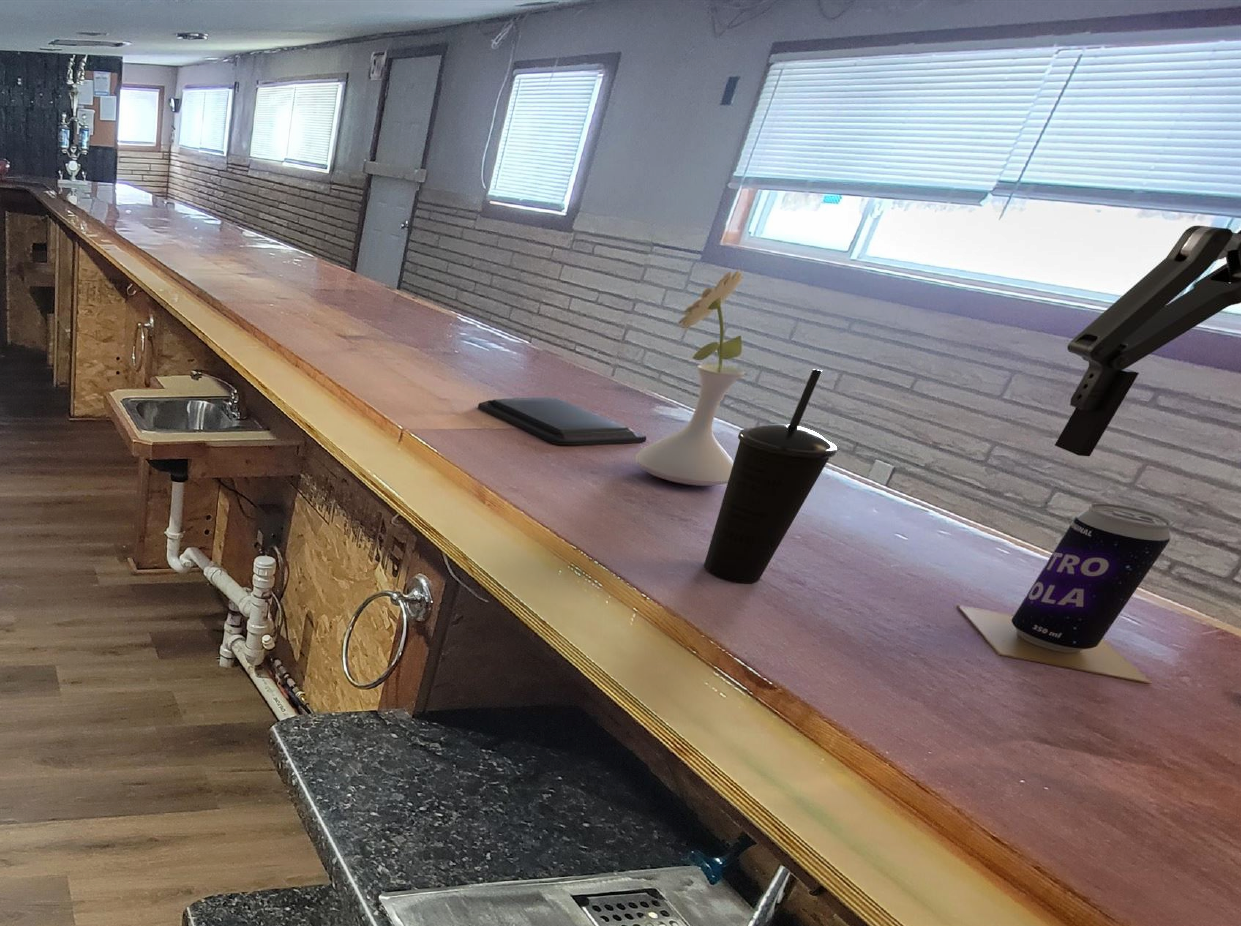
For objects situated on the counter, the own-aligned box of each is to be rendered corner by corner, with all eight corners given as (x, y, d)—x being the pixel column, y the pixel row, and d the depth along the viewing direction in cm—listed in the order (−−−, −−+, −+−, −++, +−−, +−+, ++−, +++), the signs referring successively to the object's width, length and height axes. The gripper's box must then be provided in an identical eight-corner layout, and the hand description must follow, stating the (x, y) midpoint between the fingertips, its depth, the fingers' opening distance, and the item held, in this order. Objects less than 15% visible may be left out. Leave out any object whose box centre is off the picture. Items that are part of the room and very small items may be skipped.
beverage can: (1008, 618, 82) (1084, 496, 76) (1092, 642, 78) (1179, 516, 72) (1003, 638, 78) (1082, 511, 72) (1090, 664, 75) (1181, 533, 69)
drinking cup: (693, 580, 87) (777, 373, 77) (682, 551, 93) (758, 356, 83) (784, 596, 84) (882, 385, 74) (766, 565, 90) (855, 366, 80)
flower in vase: (680, 461, 120) (753, 262, 107) (753, 491, 110) (843, 277, 98) (601, 466, 116) (667, 262, 104) (669, 498, 107) (751, 277, 94)
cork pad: (1091, 630, 81) (1092, 628, 81) (1150, 684, 73) (1151, 682, 72) (956, 606, 84) (957, 604, 84) (999, 654, 76) (1000, 653, 76)
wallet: (477, 394, 139) (562, 393, 142) (474, 406, 140) (559, 405, 143) (557, 433, 122) (652, 430, 125) (553, 446, 123) (647, 443, 126)
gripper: (1530, 158, 61) (1313, 458, 71) (1108, 145, 64) (962, 431, 75) (1673, 161, 54) (1412, 490, 65) (1195, 147, 58) (1022, 459, 69)
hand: (1170, 459), depth 70 cm, fingers open, 13 cm apart
